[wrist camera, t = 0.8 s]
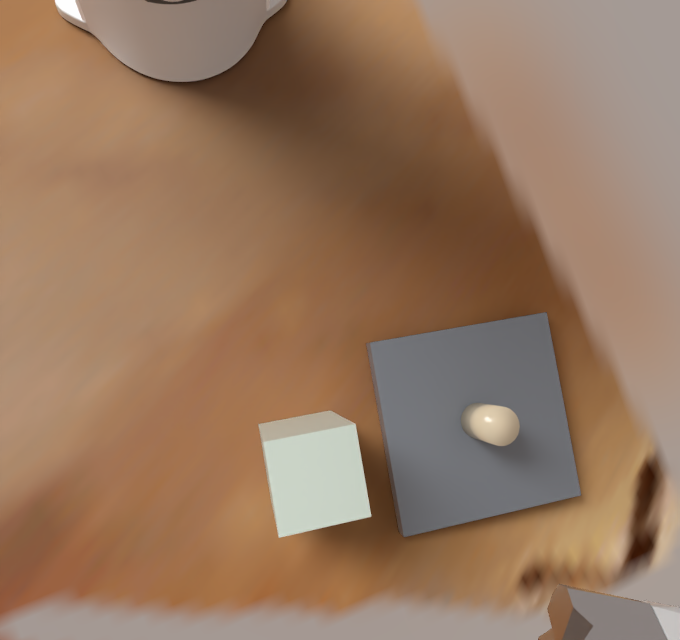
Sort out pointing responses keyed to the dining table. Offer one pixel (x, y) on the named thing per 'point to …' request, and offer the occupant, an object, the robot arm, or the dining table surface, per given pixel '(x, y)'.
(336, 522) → the cover
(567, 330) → the dining table surface
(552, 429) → the board
